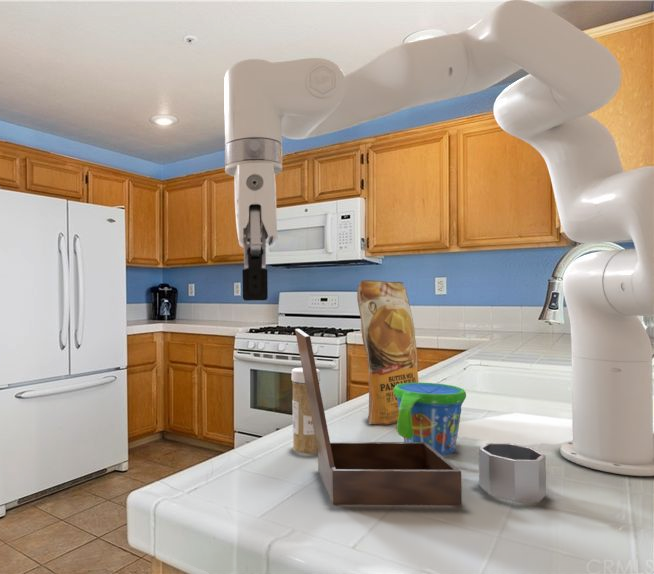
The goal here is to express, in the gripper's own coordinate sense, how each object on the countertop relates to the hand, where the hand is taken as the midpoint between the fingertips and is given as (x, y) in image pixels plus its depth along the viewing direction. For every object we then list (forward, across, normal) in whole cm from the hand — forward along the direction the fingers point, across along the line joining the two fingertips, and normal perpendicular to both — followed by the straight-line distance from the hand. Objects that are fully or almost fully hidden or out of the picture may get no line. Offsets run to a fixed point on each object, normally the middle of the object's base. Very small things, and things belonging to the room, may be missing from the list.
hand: (254, 299), depth 65 cm
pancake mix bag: (+25, +36, -29) cm, 53 cm away
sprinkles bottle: (+25, +15, -8) cm, 31 cm away
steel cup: (+25, -1, -32) cm, 41 cm away
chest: (+25, 0, -16) cm, 30 cm away
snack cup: (+25, +16, -28) cm, 41 cm away
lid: (+12, 0, -8) cm, 15 cm away
